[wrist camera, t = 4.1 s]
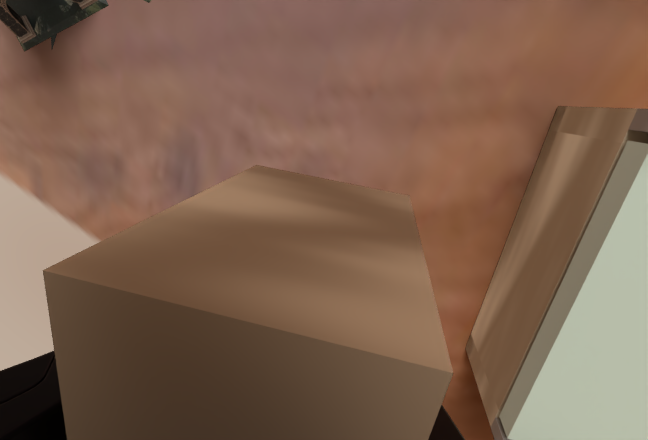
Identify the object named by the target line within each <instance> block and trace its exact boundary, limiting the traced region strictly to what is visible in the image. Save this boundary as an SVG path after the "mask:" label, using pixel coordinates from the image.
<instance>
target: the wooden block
mask: <svg viewBox="0 0 648 440" xmlns="http://www.w3.org/2000/svg"><path fill="white" fill-rule="evenodd" d="M43 275H44V281H45V289H46V295H47V303H48V310H49V316H50V324H51V331H52V337H53V345H54V352H55V359H56V366H57V373H58V380H59V387H60V394H61V401H62V408H63V415H64V422H65V428H66V435H67V440H428V439H429V436H430V433H431V431H432V428H433V426H434V423H435V420H436V418H437V415H438V412H439V410H440V407H441V404H442V402H443V399H444V396H445V394H446V391H447V388H448V386H449V383H450V380H451V378H452V375H453V370H452V366H451V362H450V358H449V354H448V350H447V346H446V342H445V338H444V334H443V330H442V325H441V321H440V317H439V313H438V309H437V305H436V301H435V297H434V293H433V289H432V285H431V281H430V277H429V273H428V269H427V265H426V261H425V257H424V253H423V249H422V244H421V240H420V236H419V232H418V228H417V224H416V220H415V216H414V212H413V208H412V204H411V200H410V196H409V195H404V194H399V193H394V192H389V191H384V190H379V189H374V188H369V187H364V186H359V185H354V184H349V183H344V182H339V181H334V180H329V179H324V178H319V177H314V176H309V175H304V174H299V173H294V172H289V171H284V170H279V169H274V168H269V167H264V166H259V165H255V166H253V167H251V168H249V169H247V170H245V171H243V172H241V173H239V174H237V175H235V176H233V177H231V178H229V179H227V180H225V181H223V182H221V183H219V184H217V185H215V186H213V187H211V188H209V189H207V190H205V191H203V192H201V193H199V194H197V195H195V196H193V197H191V198H189V199H187V200H185V201H182V202H180V203H178V204H176V205H174V206H172V207H170V208H168V209H166V210H164V211H162V212H160V213H158V214H156V215H154V216H152V217H150V218H148V219H146V220H144V221H142V222H140V223H138V224H136V225H134V226H132V227H130V228H128V229H126V230H124V231H122V232H120V233H118V234H116V235H114V236H112V237H110V238H107V239H105V240H103V241H101V242H99V243H97V244H95V245H93V246H91V247H89V248H87V249H85V250H83V251H81V252H79V253H77V254H75V255H73V256H71V257H69V258H67V259H65V260H63V261H61V262H59V263H57V264H55V265H53V266H51V267H49V268H47V269H45V270H43Z"/></svg>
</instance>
